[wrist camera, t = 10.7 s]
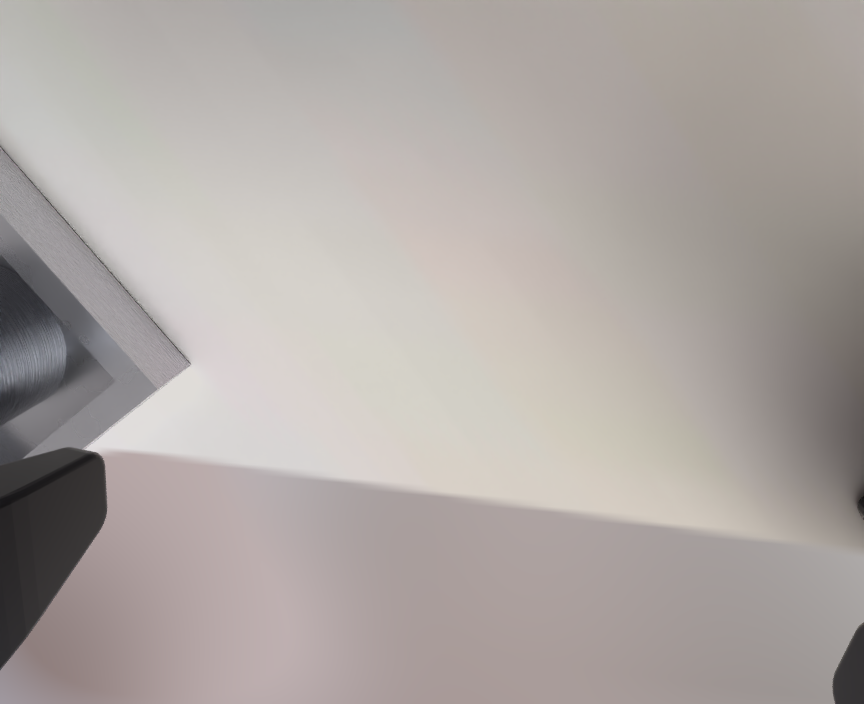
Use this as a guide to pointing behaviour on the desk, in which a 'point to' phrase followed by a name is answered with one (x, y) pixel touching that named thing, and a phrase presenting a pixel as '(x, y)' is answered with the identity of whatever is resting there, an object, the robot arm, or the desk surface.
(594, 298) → the desk surface
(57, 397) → the square pan with handle
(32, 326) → the dark grey tall cylinder
